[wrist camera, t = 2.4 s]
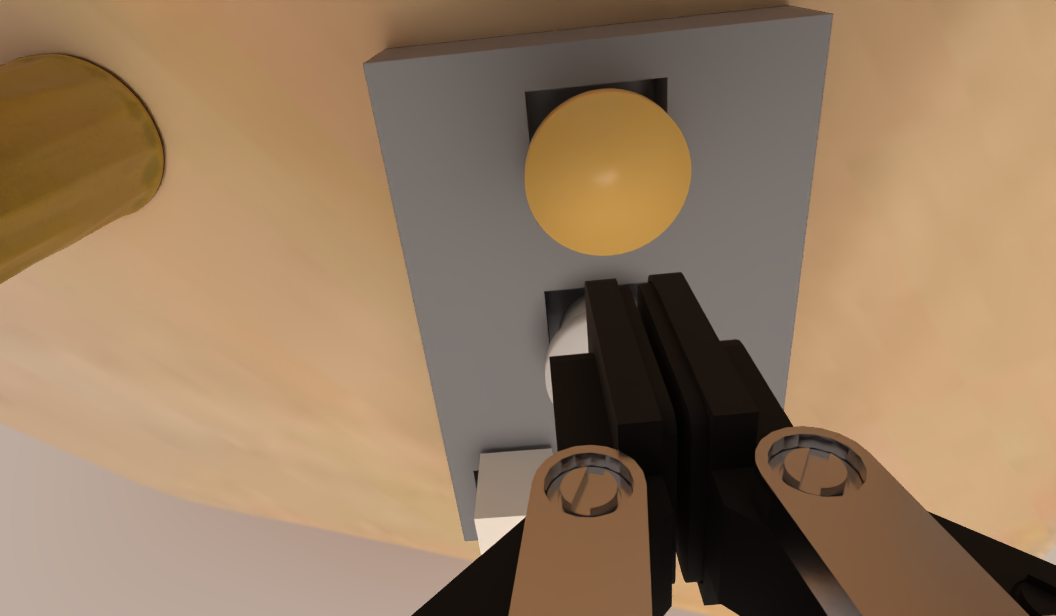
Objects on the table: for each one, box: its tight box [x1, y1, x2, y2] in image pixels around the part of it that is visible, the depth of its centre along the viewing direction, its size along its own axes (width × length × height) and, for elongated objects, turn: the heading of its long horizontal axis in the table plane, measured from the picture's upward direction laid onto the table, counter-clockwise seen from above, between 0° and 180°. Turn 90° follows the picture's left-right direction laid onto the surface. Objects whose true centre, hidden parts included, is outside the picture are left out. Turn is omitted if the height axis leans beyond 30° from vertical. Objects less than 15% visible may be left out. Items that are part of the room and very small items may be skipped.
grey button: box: [545, 295, 637, 403], centre depth 23 cm, size 5×5×3 cm
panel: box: [363, 6, 833, 541], centre depth 25 cm, size 14×21×4 cm, turn 6°
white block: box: [474, 448, 553, 555], centre depth 27 cm, size 3×4×6 cm
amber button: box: [525, 88, 691, 256], centre depth 20 cm, size 5×5×3 cm
